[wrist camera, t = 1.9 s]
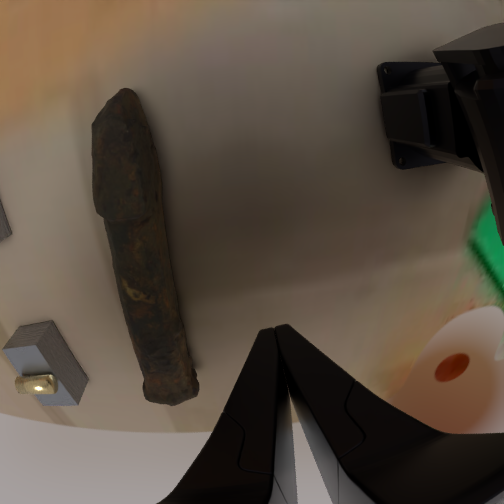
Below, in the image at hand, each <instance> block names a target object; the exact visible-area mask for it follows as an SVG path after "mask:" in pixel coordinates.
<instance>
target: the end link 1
mask: <svg viewBox="0 0 504 504" xmlns="http://www.w3.org/2000/svg"><path fill="white" fill-rule="evenodd" d="M11 234H12V233H11V230H10V227H9V225H8V222H7V219H6V216H5V213H4V210H3V207H2V204H1V201H0V242H1V241H2V240H4V239H5V238H7V237H8V236H10V235H11Z"/></svg>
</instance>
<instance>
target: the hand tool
mask: <svg viewBox="0 0 504 504" xmlns="http://www.w3.org/2000/svg"><path fill="white" fill-rule="evenodd" d="M92 164H93V176H92V188H93V200H94V205H95V208H96V212H97V213H98V214H99V215H100V216H102V217H103V218H104V224H105V229H106V232H107V236H108V241H109V245H110V249H111V254H112V261H113V268H114V272H115V277H116V281H117V287H118V292H119V296H120V300H121V304H122V308H123V312H124V316H125V320H126V324H127V326H128V330H129V334H130V337H131V340H132V344H133V348H134V351H135V354H136V356H137V359H138V362H139V365H140V368H141V371H142V374H143V377H144V382H143V387H142V388H143V392H144V396H145V399H146V400H148V401H149V402H153V403H159V404H168V405H170V406H175V405H177V404H180V403H182V402H184V401H186V400H189V399H191V398H194V397H196V396H197V395H198V392H199V382H198V380H197V373H196V371H195V369H193V368H192V358H191V357H190V355H189V353H188V352H187V346H186V336H185V333H184V326H183V324H182V322H181V320H180V316H179V310H178V300H177V294H176V290H175V286H174V281H173V275H172V269H171V264H170V258H169V252H168V243H167V237H166V231H165V224H164V215H163V208H162V181H161V175H160V169H159V163H158V159H157V154H156V148H155V147H154V145H153V141H152V137H151V133H150V130H149V128H148V124H147V121H146V118H145V115H144V112H143V110H142V108H141V104H140V101H139V99H138V97H137V95H136V93H135V92H134V91H133V90H131V89H129V88H124V89H120V91H119V92H118V93H117V94H116V95H115V96H113V97H112V98H111V99H110V100H108V101H107V103H106V105H105V106H104V107H103V109H102V110H101V111H100V112H99V114H98V115H97V117H96V119H95V121H94V122H93V123H92Z"/></svg>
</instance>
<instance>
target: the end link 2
mask: <svg viewBox="0 0 504 504" xmlns="http://www.w3.org/2000/svg"><path fill="white" fill-rule="evenodd" d="M2 350H3V351H4V353H5V354H6V356H7V357H8V359H9V360H10V362H11V363H12V365H13V366H14V368H15V369H16V371H17V372H18V373H19V375H20V376H19V377H17V378H16V380H15V387H16V390H17V391H18V392H19V393H20V394H34V395H35V396H36V397H37V399H38V400H39V401H40V402H41V403H42V405H43V406H70V405H79V402H80V400H81V397H82V395H83V392H84V390H85V387H86V385H87V382H88V380H89V379H88V377H87V376H86V375H85V373H84V372H83V370H82V369H81V367H80V366H79V364H78V362H77V361H76V359H75V358H74V356H73V355H72V353H71V351H70V350H69V348H68V347H67V345H66V343H65V342H64V340H63V338H62V337H61V335H60V333H59V331H58V330H57V328H56V326H55V324H54V323H53V321H48V322H42V323H37V324H32V325H27V326H21V327H19V328H18V329H17V330H16V332H15V333H14V334H13V335H12V337H11V338H10V339H9V341H8V342H7V343H6V345H5V346H4V348H3V349H2Z"/></svg>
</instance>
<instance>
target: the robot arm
mask: <svg viewBox="0 0 504 504" xmlns="http://www.w3.org/2000/svg"><path fill="white" fill-rule="evenodd" d="M433 53H434V55H435V57H436V59H437V61H438V62H441V63H428V62H384V63H381V64H379V65H378V68H377V72H378V76H379V81H380V86H381V91H382V95H381V103H382V108H383V114H384V120H385V126H386V133H387V137H388V138H389V139H390V146H391V154H392V162H393V165H394V166H395V167H396V168H398V169H402V170H404V169H410V168H415V167H421V166H428V165H434V164H440V163H446V162H447V163H451V164H454V165H458V166H461V167H465V168H468V169H471V170H474V171H478V172H481V173H484V175H485V178H486V182H487V186H488V189H489V193H490V197H491V202H492V204H491V207H492V212H493V215H494V216H495V220H496V225H497V230H498V233H499V236H500V238H501V241H502V244H503V245H504V23H499V24H495V25H491V26H487V27H484V28H481V29H479V30H477V31H474V32H472V33H470V34H467V35H465V36H463V37H461V38H458V39H456V40H454V41H452V42H450V43H447V44H445V45H443V46H441V47H439V48H437V49H435V50H433ZM385 67H386V68H387V69H388V74H386V73H385V71H384V68H385ZM401 157H402V159H403V162H402V164H400V163H399V159H400V158H401ZM274 330H275V331H274ZM277 343H278V344H277ZM281 360H282V361H281ZM284 373H285V374H284ZM285 377H286V378H285ZM287 386H288V387H287ZM288 390H289V391H288ZM289 394H290V396H289ZM290 397H291V400H292V403H293V405H294V408H295V411H296V413H297V416H298V418H299V421H300V423H301V426H302V428H303V431H304V433H305V436H306V438H307V441H308V444H309V446H310V449H311V451H312V453H313V456H314V459H315V461H316V464H317V466H318V468H319V471H320V473H321V476H322V478H323V481H324V483H325V486H326V488H327V490H328V493H329V495H330V498H331V500H332V503H333V504H504V433H486V434H451V433H445V432H442V431H439V430H436V429H434V428H432V427H430V426H428V425H426V424H424V423H422V422H420V421H419V420H417V419H415V418H413V417H412V416H410V415H408V414H406V413H404V412H403V411H401V410H399V409H397V408H396V407H394V406H392V405H391V404H389V403H387V402H386V401H384V400H383V399H381V398H379V397H378V396H377V395H375V394H374V393H373V392H371V391H370V390H368V389H367V388H366V387H365V386H363V385H362V384H361V383H360V382H358V381H356V380H355V379H354V378H353V377H352V376H351V375H349V374H348V373H347V372H346V371H345V370H343V369H342V368H341V367H340V366H338V365H337V364H336V363H335V362H333V361H332V360H331V359H330V358H329V357H327V356H326V355H325V354H324V353H322V352H321V351H320V350H319V349H318V348H316V347H315V346H314V345H313V344H312V343H310V342H309V341H308V340H307V339H306V338H304V337H303V336H302V335H301V334H300V333H298V332H297V331H296V330H295V329H294V328H292V327H291V326H290V325H289V324H283V325H279V326H276V327H275V328H272V327H271V328H267V329H262V330H260V331H259V333H258V335H257V337H256V339H255V342H254V344H253V346H252V348H251V351H250V353H249V355H248V357H247V360H246V362H245V364H244V366H243V368H242V371H241V373H240V375H239V377H238V379H237V382H236V384H235V386H234V388H233V390H232V392H231V395H230V397H229V399H228V401H227V403H226V405H225V407H224V410H223V412H222V413H221V416H220V418H219V420H218V422H217V424H216V426H215V428H214V430H213V432H212V433H211V435H210V437H209V439H208V440H207V442H206V444H205V445H204V447H203V448H202V450H201V452H200V453H199V454H198V456H197V458H196V459H195V460H194V462H193V463H192V465H191V466H190V467H189V469H188V470H187V472H186V473H185V475H184V476H183V478H182V479H181V480H180V482H179V483H178V485H177V486H176V487H175V488H174V490H173V491H172V492H171V493H170V494H169V495H168V496H167V497H166V498H164V499H163V500H162V501H160V502H159V503H157V504H297V503H298V502H297V486H296V472H295V457H294V444H293V430H292V417H291V405H290Z"/></svg>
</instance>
